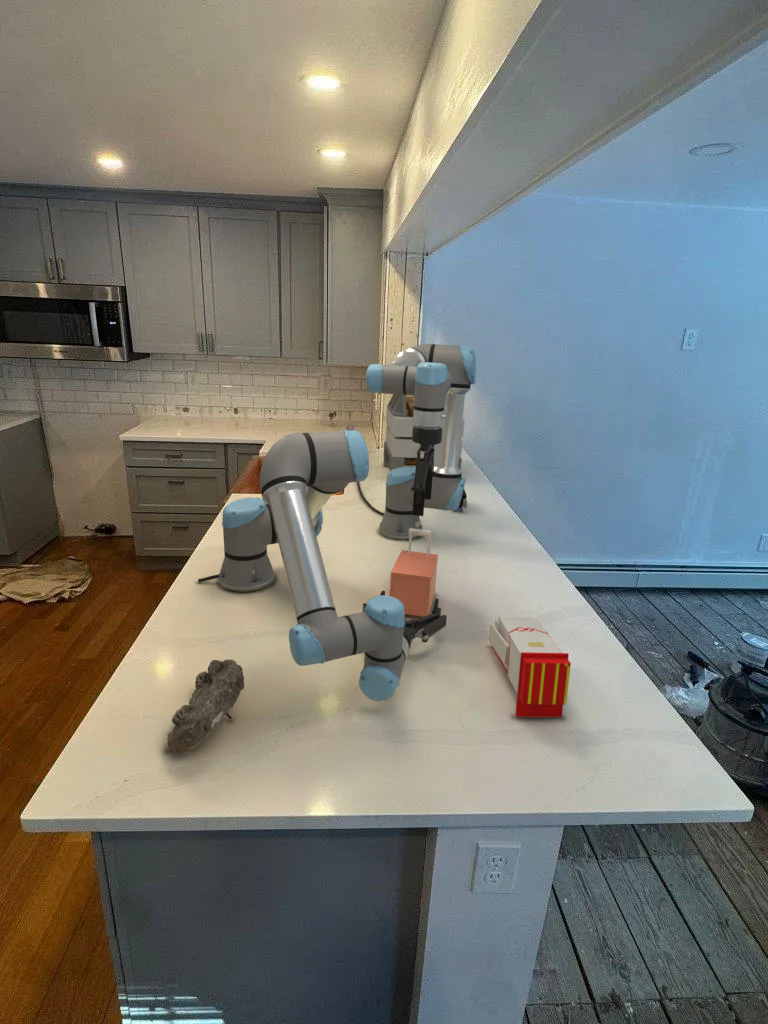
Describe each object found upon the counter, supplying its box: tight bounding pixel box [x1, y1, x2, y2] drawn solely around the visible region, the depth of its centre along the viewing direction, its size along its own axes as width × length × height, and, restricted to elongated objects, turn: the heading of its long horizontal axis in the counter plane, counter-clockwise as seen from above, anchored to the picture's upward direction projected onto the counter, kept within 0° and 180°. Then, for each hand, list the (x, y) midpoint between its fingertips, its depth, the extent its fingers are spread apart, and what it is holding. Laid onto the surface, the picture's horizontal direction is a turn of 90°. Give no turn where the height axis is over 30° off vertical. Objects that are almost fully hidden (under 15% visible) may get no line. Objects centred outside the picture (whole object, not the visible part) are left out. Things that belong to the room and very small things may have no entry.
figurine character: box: [453, 489, 468, 512], centre depth 228 cm, size 7×8×15 cm
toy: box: [487, 616, 572, 718], centre depth 123 cm, size 12×13×30 cm
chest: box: [389, 558, 439, 619], centre depth 151 cm, size 14×10×11 cm
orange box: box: [390, 528, 439, 581], centre depth 148 cm, size 15×10×8 cm
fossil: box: [166, 658, 245, 754], centre depth 106 cm, size 22×10×15 cm
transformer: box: [383, 394, 465, 472], centre depth 268 cm, size 34×33×41 cm
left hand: (409, 599), depth 142 cm, fingers open, 13 cm apart
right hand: (422, 506), depth 149 cm, fingers open, 13 cm apart
